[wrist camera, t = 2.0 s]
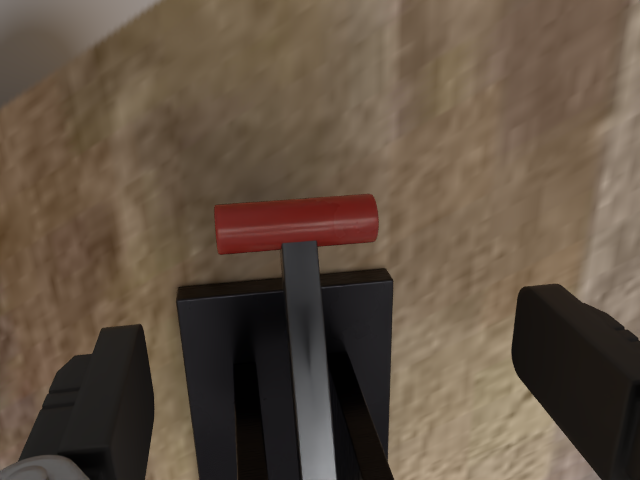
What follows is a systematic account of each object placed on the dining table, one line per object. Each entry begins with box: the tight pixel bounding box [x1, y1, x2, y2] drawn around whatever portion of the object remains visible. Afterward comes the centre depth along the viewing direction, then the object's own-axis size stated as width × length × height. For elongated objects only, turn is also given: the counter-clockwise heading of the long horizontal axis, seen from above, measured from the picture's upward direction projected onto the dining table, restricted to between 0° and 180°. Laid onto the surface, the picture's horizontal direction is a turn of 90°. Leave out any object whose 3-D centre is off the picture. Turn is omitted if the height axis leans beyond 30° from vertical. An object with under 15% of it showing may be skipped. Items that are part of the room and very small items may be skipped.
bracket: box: [176, 269, 394, 480], centre depth 22 cm, size 11×9×12 cm
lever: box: [214, 194, 379, 480], centre depth 18 cm, size 13×5×2 cm, turn 1°
